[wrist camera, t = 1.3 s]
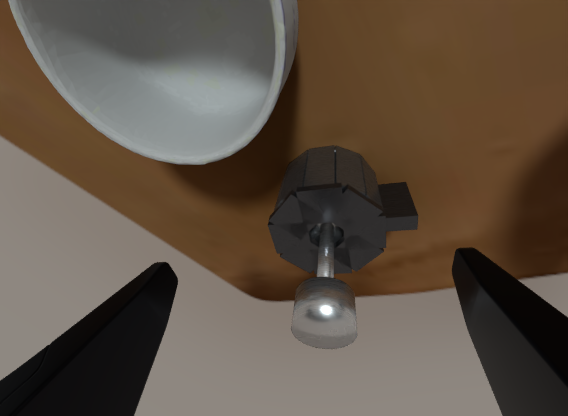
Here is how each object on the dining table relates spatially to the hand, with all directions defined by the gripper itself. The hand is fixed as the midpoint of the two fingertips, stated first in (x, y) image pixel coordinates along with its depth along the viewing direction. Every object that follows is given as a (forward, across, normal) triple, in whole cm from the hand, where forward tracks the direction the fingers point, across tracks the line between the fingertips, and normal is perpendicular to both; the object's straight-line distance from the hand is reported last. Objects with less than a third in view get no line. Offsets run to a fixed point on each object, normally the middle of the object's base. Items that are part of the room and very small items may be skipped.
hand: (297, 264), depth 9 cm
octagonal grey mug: (+13, 0, +6) cm, 14 cm away
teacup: (+13, +5, -8) cm, 16 cm away
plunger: (+9, 0, +6) cm, 11 cm away
